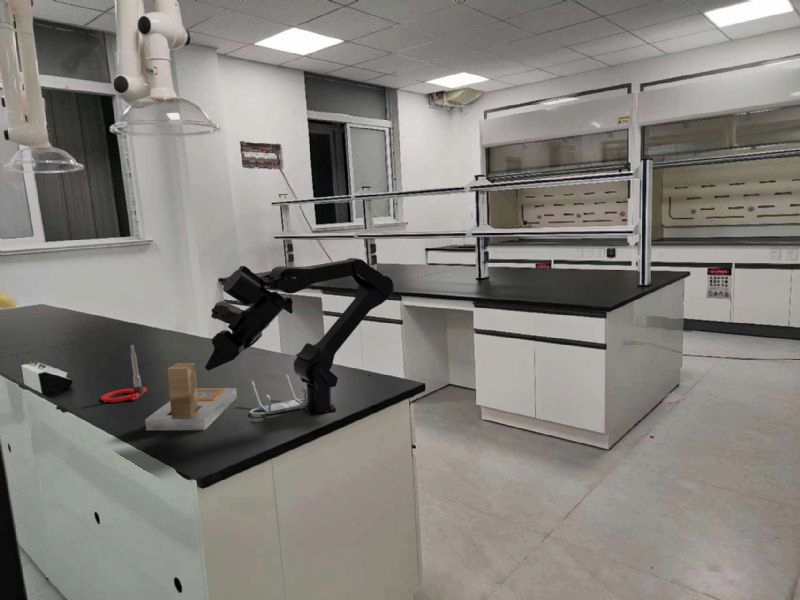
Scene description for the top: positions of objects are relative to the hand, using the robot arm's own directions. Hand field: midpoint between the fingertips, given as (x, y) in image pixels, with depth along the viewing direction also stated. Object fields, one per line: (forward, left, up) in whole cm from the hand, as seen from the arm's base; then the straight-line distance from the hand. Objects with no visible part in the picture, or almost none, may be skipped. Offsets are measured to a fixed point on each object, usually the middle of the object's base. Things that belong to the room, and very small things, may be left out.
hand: (214, 363), depth 124 cm
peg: (+3, +7, -13) cm, 15 cm away
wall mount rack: (+3, -15, -14) cm, 20 cm away
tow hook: (+29, +21, -14) cm, 38 cm away
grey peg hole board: (+8, +5, -13) cm, 16 cm away
